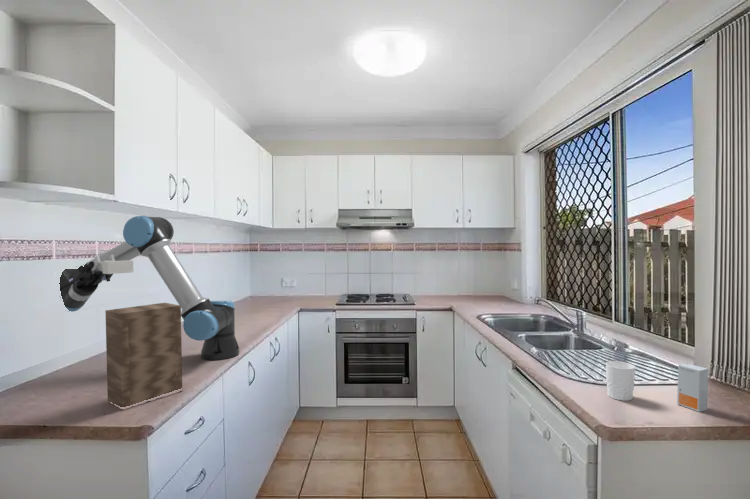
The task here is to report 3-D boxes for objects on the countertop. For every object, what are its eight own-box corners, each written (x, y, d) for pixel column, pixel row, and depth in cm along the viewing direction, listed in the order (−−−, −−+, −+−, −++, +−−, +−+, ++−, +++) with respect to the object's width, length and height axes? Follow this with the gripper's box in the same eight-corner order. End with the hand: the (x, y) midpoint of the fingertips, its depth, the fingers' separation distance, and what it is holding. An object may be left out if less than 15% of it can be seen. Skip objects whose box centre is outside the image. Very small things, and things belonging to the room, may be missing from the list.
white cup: (608, 390, 137) (608, 359, 136) (636, 396, 132) (637, 364, 131) (602, 397, 131) (603, 365, 130) (632, 403, 126) (633, 370, 125)
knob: (85, 271, 150) (85, 260, 150) (110, 270, 156) (110, 259, 156) (107, 274, 139) (107, 261, 139) (133, 272, 146) (133, 260, 145)
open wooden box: (166, 385, 143) (164, 302, 142) (182, 391, 137) (180, 305, 136) (107, 402, 128) (105, 310, 127) (122, 410, 122) (120, 314, 121)
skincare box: (676, 404, 125) (677, 364, 124) (685, 402, 127) (686, 362, 126) (699, 412, 119) (700, 370, 119) (708, 410, 121) (709, 368, 121)
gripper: (110, 293, 167) (134, 266, 155) (59, 299, 153) (80, 269, 141) (105, 276, 169) (128, 248, 157) (54, 280, 155) (75, 249, 143)
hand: (105, 258), depth 149 cm, fingers closed on knob, 4 cm apart
